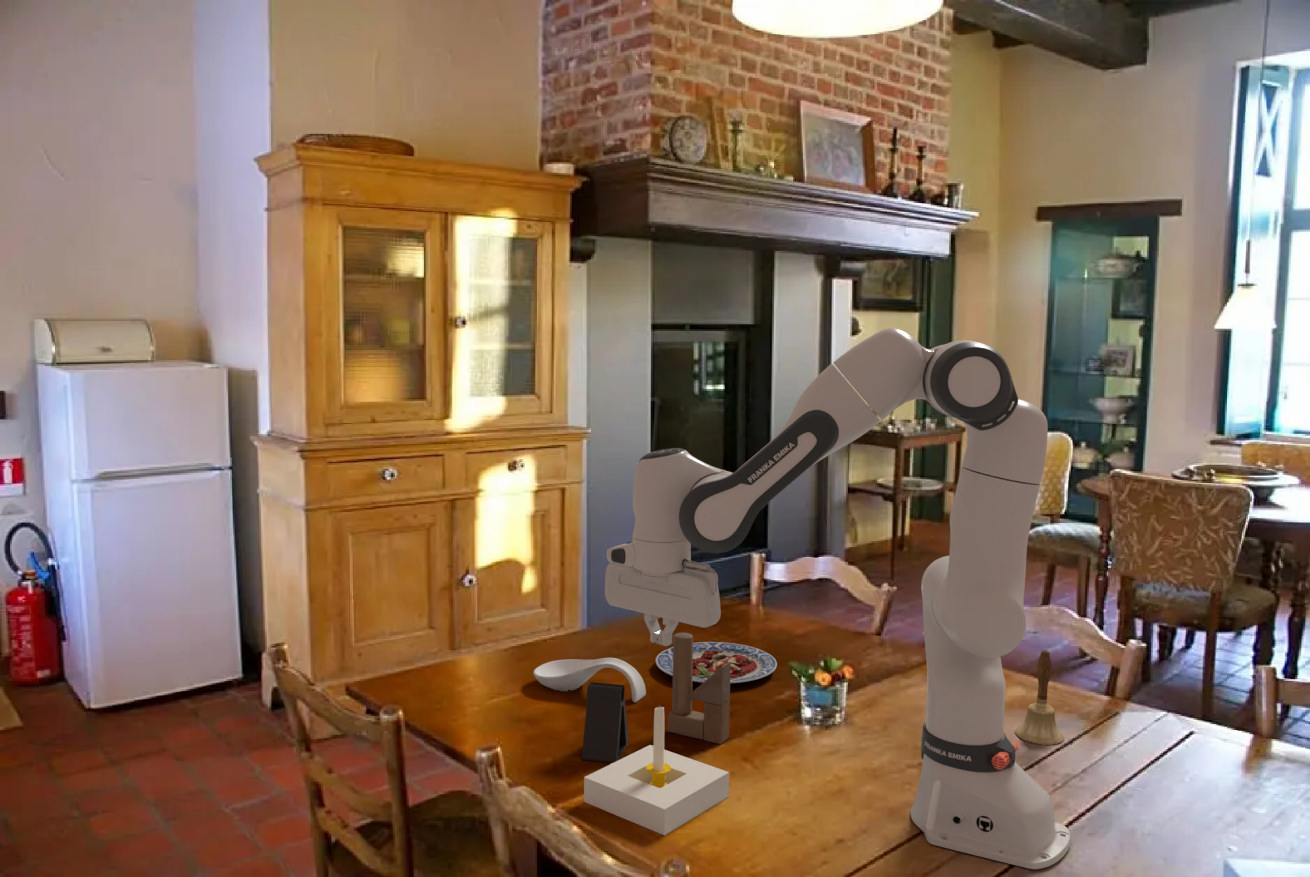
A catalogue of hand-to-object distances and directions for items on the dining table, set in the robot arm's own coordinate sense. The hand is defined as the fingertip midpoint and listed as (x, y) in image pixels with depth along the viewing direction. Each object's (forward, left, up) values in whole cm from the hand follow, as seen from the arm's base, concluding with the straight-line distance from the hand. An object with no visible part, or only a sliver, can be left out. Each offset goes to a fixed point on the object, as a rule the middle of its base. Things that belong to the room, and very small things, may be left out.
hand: (661, 643), depth 158 cm
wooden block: (+10, -24, -25) cm, 36 cm away
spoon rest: (+41, -27, -25) cm, 55 cm away
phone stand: (+18, -8, -25) cm, 32 cm away
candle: (0, +1, -25) cm, 25 cm away
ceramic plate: (+28, -54, -25) cm, 66 cm away
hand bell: (-37, -64, -25) cm, 78 cm away
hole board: (0, 0, -25) cm, 25 cm away
